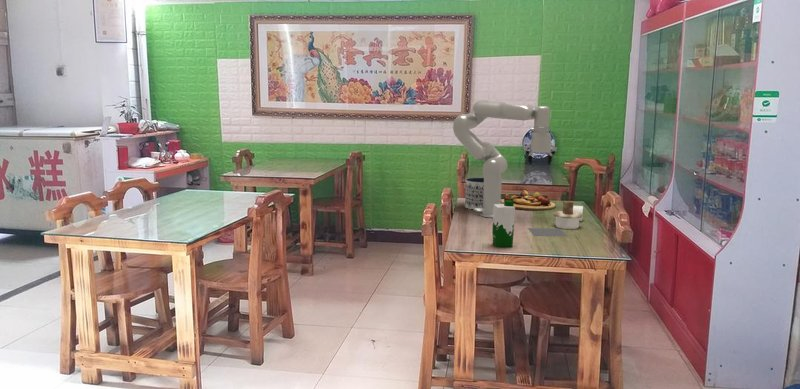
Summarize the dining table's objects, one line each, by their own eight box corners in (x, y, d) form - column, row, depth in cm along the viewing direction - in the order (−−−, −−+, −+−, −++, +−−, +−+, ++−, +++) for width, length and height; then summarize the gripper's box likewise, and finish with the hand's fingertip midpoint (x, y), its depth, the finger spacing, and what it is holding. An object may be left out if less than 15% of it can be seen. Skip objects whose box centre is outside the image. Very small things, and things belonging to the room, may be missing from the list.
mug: (582, 222, 329) (582, 207, 327) (562, 221, 332) (563, 206, 330) (582, 218, 340) (583, 203, 339) (563, 216, 343) (564, 202, 342)
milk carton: (515, 247, 275) (517, 202, 272) (494, 247, 275) (496, 202, 271) (509, 242, 284) (511, 199, 281) (490, 242, 283) (491, 199, 280)
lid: (557, 218, 309) (557, 204, 308) (550, 212, 323) (551, 199, 322) (585, 218, 309) (586, 204, 308) (577, 212, 323) (578, 199, 322)
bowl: (558, 229, 312) (559, 217, 311) (553, 224, 322) (554, 213, 321) (581, 229, 312) (581, 217, 311) (574, 224, 323) (575, 213, 322)
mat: (534, 236, 296) (534, 235, 296) (527, 229, 312) (527, 228, 312) (568, 236, 296) (568, 236, 296) (559, 229, 312) (559, 228, 312)
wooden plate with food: (503, 210, 359) (504, 196, 358) (498, 200, 391) (499, 187, 389) (560, 213, 358) (561, 198, 356) (550, 202, 389) (551, 189, 387)
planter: (497, 211, 356) (499, 182, 353) (465, 210, 356) (466, 181, 354) (494, 205, 373) (495, 177, 371) (464, 204, 374) (464, 177, 372)
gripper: (525, 130, 320) (524, 164, 323) (559, 131, 320) (558, 164, 323) (522, 129, 327) (521, 162, 330) (556, 130, 327) (554, 162, 330)
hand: (539, 163), depth 327 cm, fingers open, 9 cm apart
